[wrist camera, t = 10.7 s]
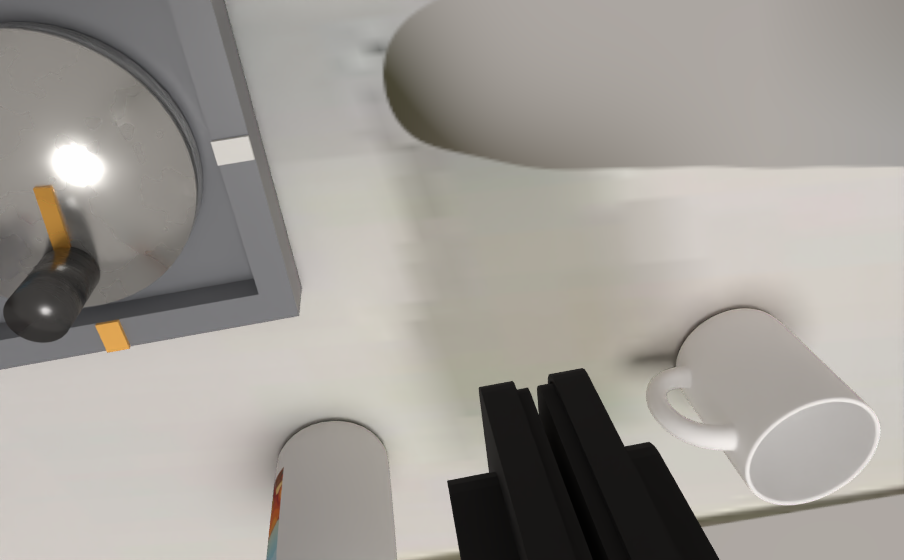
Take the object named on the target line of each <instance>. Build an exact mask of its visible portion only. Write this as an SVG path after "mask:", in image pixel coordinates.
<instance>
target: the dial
mask: <svg viewBox="0 0 904 560" xmlns="http://www.w3.org/2000/svg"><path fill="white" fill-rule="evenodd" d="M202 183H203V176H202V169H201V161H200V157H199V153H198V149H197V146H196V142H195V140H194V138H193V135H192V133H191V130H190V128H189V126H188V124H187V122H186V120H185V119H184V117H183V115H182V114H181V112H180V110H179V108H178V107H177V106H176V104H175V103H174V102H173V100H172V99H171V98H170V96H169V95H168V94H167V92H166V91H165V90H164V89H163V88H162V87H161V86H160V85H159V84H158V83H157V82H156V81H155V80H154V79H153V77H151V76H150V75H149V74H148V73H147V72H146V71H144V70H143V69H142V68H141V67H140V66H139V65H137V64H136V63H135V62H133V61H132V60H130V59H129V58H128V57H126V56H125V55H123V54H122V53H120V52H119V51H117V50H115V49H113V48H112V47H110V46H108V45H106V44H104V43H102V42H100V41H98V40H96V39H94V38H91V37H89V36H86V35H84V34H81V33H79V32H76V31H72V30H69V29H65V28H61V27H58V26H54V25H47V24H40V23H34V22H4V23H0V296H3V297H5V298H9V299H8V300H7V301H6V303H5V305H4V308H3V316H4V319H5V322H6V324H7V325H8V327H9V328H10V329H11V330H12V331H13V332H14V333H16V334H17V335H18V336H20V337H22V338H24V339H26V340H29V341H33V342H39V343H47V342H53V341H56V340H58V339H60V338H62V337H63V336H64V335H65V334H66V333H67V332H68V331H69V329H70V327H71V326H72V324H73V323H74V321H75V319H76V318H77V316H78V315H79V313H80V311H81V310H82V308H83V307H89V306H97V305H102V304H106V303H110V302H114V301H118V300H120V299H123V298H125V297H128V296H130V295H133V294H135V293H137V292H139V291H140V290H142V289H144V288H146V287H148V286H149V285H150V284H152V283H153V282H154V281H156V280H157V279H158V278H160V277H161V276H162V275H163V274H164V273H165V272H166V271H167V270H168V269H169V268H170V267H171V266H172V264H173V263H174V262H175V260H176V259H177V258H178V256H179V255H180V253H181V252H182V250H183V248H184V246H185V244H186V242H187V240H188V238H189V236H190V233H191V231H192V229H193V227H194V224H195V222H196V219H197V216H198V213H199V209H200V204H201V198H202Z"/></svg>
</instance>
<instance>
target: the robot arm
mask: <svg viewBox="0 0 904 560" xmlns="http://www.w3.org/2000/svg"><path fill="white" fill-rule="evenodd" d="M479 396H480V404H481V412H482V420H483V428H484V436H485V444H486V451H487V459H488V467H489V473H485V474H479V475H474V476H469V477H464V478H459V479H453V480H448V481H447V482H448V488H449V494H450V500H451V505H452V511H453V517H454V523H455V528H456V534H457V540H458V546H459V551H460V557H461V560H719V558H718V556H717V554H716V553H715V551H714V549H713V547H712V545H711V544H710V542H709V540H708V538H707V537H706V535H705V533H704V531H703V529H702V528H701V526H700V524H699V522H698V521H697V519H696V517H695V515H694V513H693V512H692V510H691V508H690V506H689V505H688V503H687V501H686V499H685V498H684V496H683V494H682V492H681V490H680V489H679V487H678V485H677V483H676V482H675V480H674V478H673V476H672V475H671V473H670V471H669V469H668V467H667V466H666V464H665V462H664V460H663V459H662V457H661V455H660V453H659V452H658V450H657V449H656V447H655V446H654V445H653V444H651V443H650V442H646V443H641V444H636V445H631V446H625V447H624V445H623V443H622V441H621V439H620V437H619V435H618V433H617V431H616V429H615V427H614V425H613V423H612V421H611V419H610V417H609V415H608V413H607V411H606V409H605V407H604V405H603V403H602V401H601V399H600V397H599V395H598V393H597V392H596V390H595V388H594V386H593V384H592V382H591V380H590V378H589V376H588V374H587V372H586V371H585V369H583V368H581V369H575V370H570V371H565V372H559V373H554V374H549V376H548V384H545V385H540V386H538V387H537V396H538V410H539V414H538V412H537V409H536V406H535V404H534V401H533V398H532V396H531V393H530V391H529V389H528V388H523V389H518V390H517V389H516V387H515V384H514V382H513V381H510V382H505V383H499V384H494V385H489V386H483V387H479Z"/></svg>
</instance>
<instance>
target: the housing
mask: <svg viewBox="0 0 904 560" xmlns="http://www.w3.org/2000/svg"><path fill="white" fill-rule="evenodd" d="M4 22H34V23H40V24H47V25H54V26H58V27H61V28H65V29H69V30H72V31H76V32H79V33H81V34H84V35H86V36H89V37H91V38H94V39H96V40H98V41H100V42H102V43H104V44H106V45H108V46H110V47H112V48H113V49H115V50H117V51H119V52H120V53H122V54H123V55H125V56H126V57H128V58H129V59H130V60H132V61H133V62H135V63H136V64H137V65H139V66H140V67H141V68H142V69H143V70H144V71H146V72H147V73H148V74H149V75H150V76H151V77H153V79H154V80H155V81H156V82H157V83H158V84H159V85H160V86H161V87H162V88H163V89H164V90H165V91H166V92H167V94H168V95H169V96H170V98H171V99H172V100H173V102H174V103H175V104H176V106H177V107H178V108H179V110H180V112H181V114H182V115H183V117H184V119H185V120H186V122H187V124H188V126H189V128H190V130H191V133H192V135H193V138H194V140H195V142H196V146H197V149H198V153H199V157H200V161H201V169H202V176H203V183H202V198H201V204H200V209H199V213H198V216H197V219H196V222H195V224H194V227H193V229H192V231H191V233H190V236H189V238H188V240H187V242H186V244H185V246H184V248H183V250H182V252H181V253H180V255H179V256H178V258H177V259H176V260H175V262H174V263H173V264H172V266H171V267H170V268H169V269H168V270H167V271H166V272H165V273H164V274H163V275H162V276H161V277H160V278H158V279H157V280H156V281H154V282H153V283H152V284H150V285H149V286H148V287H146V288H144V289H142V290H140V291H139V292H137V293H135V294H133V295H130V296H128V297H125V298H123V299H120V300H118V301H114V302H110V303H106V304H102V305H97V306H89V307H83V308H82V310H81V311H80V313H79V315H78V316H77V318H76V319H75V321H74V323H73V324H72V326H71V327H70V329H69V331H68V332H67V333H66V334H65V335H64V336H63V337H62V338H60V339H58V340H56V341H53V342H47V343H39V342H33V341H29V340H26V339H24V338H22V337H20V336H18V335H17V334H16V333H14V332H13V331H12V330H11V329H10V328H9V327H8V325H7V324H6V322H5V319H4V316H3V308H4V305H5V303H6V301H7V300H8V299H9V298H5V297H3V296H0V370H1V369H7V368H12V367H18V366H23V365H29V364H35V363H40V362H46V361H51V360H57V359H62V358H68V357H73V356H79V355H84V354H90V353H96V352H101V351H107V353H108V352H114V351H119V350H125V349H130V346H134V345H140V344H145V343H151V342H157V341H162V340H168V339H173V338H179V337H184V336H190V335H195V334H201V333H206V332H212V331H218V330H223V329H229V328H234V327H240V326H245V325H251V324H256V323H262V322H268V321H273V320H279V319H284V318H290V317H295V316H299V312H300V301H301V291H302V287H301V283H300V280H299V276H298V272H297V268H296V265H295V261H294V257H293V254H292V250H291V246H290V243H289V239H288V235H287V232H286V228H285V224H284V220H283V217H282V213H281V209H280V206H279V202H278V198H277V195H276V191H275V187H274V183H273V180H272V176H271V172H270V169H269V165H268V161H267V158H266V154H265V150H264V147H263V143H262V139H261V135H260V132H259V128H258V124H257V121H256V117H255V113H254V110H253V106H252V102H251V98H250V95H249V91H248V87H247V84H246V80H245V76H244V73H243V69H242V65H241V62H240V58H239V54H238V50H237V47H236V43H235V39H234V36H233V32H232V28H231V25H230V21H229V17H228V14H227V10H226V6H225V2H224V0H0V23H4Z"/></svg>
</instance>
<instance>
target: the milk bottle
mask: <svg viewBox="0 0 904 560" xmlns="http://www.w3.org/2000/svg"><path fill="white" fill-rule="evenodd" d="M266 560H397V552H396V539H395V526H394V515H393V503H392V492H391V481H390V470H389V462H388V455H387V452H386V449H385V447H384V445H383V444H382V443H381V441H380V440H379V439H378V437H377V436H375V435H374V434H373V433H372V432H371V431H369V430H368V429H366V428H364V427H363V426H360V425H357V424H355V423H350V422H345V421H327V422H320V423H317V424H313V425H310V426H308V427H306V428H304V429H302V430H300V431H299V432H298V433H296V434H294V436H293V437H292V438H291V439H290V440H289V441H288V442H287V443H286V444H285V445H284V447H283V448H282V450H281V452H280V454H279V457H278V461H277V468H276V475H275V483H274V492H273V501H272V510H271V520H270V529H269V538H268V548H267V559H266Z"/></svg>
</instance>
